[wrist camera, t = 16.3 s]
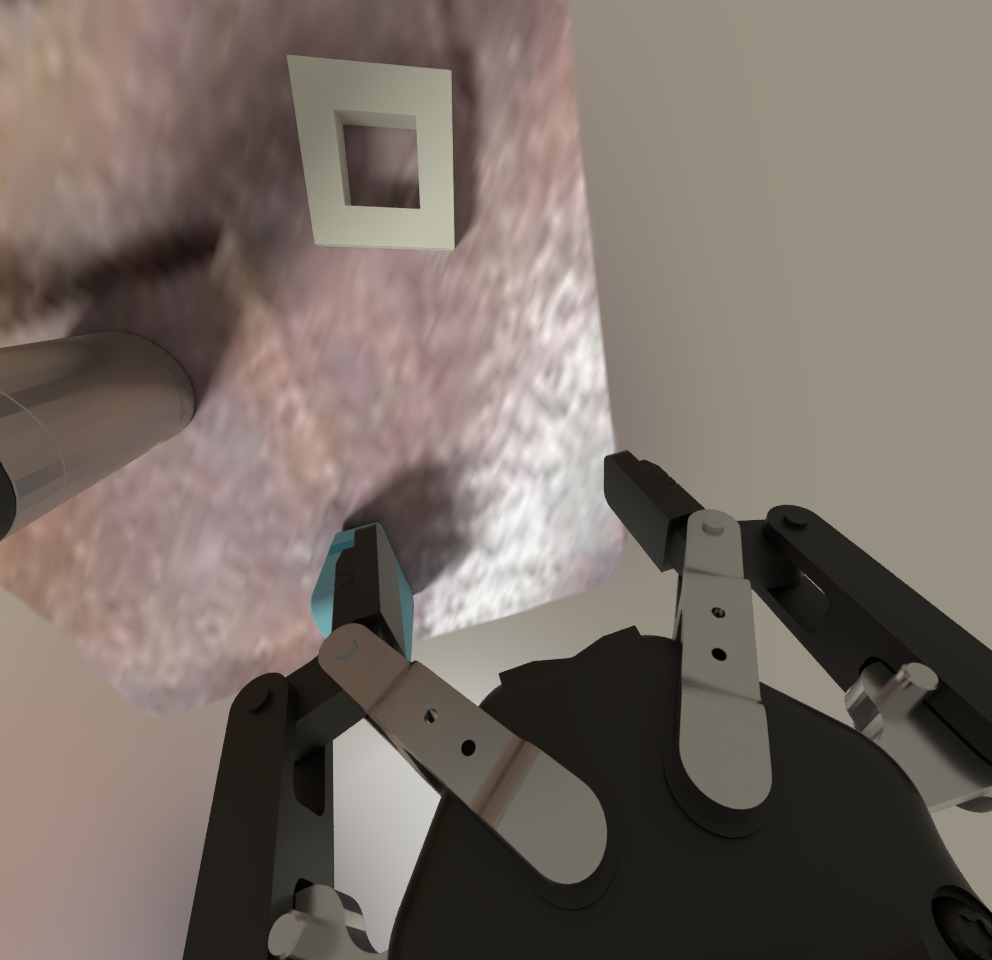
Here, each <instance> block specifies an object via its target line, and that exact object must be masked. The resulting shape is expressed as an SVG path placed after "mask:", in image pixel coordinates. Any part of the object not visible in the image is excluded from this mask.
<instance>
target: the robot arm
mask: <svg viewBox="0 0 992 960" xmlns="http://www.w3.org/2000/svg"><path fill="white" fill-rule="evenodd" d="M194 407H195V398H194V392H193V388H192V385H191V383H190V381H189V378H188V376H187V375H186V373H185V372H184V370H183V369H182V367H181V366H180V365H179V364H178V363H177V362H176V361H175V359H174V358H173V357H172V356H171V355H169V354H168V353H167V352H166V351H164V350H163V349H162V348H160V347H159V346H157V345H155V344H154V343H152V342H150V341H148V340H147V339H144V338H141V337H138V336H136V335H133V334H129V333H123V332H99V333H93V334H86V335H80V336H74V337H68V338H60V339H54V340H48V341H42V342H35V343H29V344H23V345H17V346H11V347H4V348H0V541H2V540H4V539H5V538H7V537H8V536H10V535H12V534H13V533H15V532H17V531H18V530H20V529H22V528H23V527H25V526H27V525H28V524H30V523H31V522H33V521H35V520H36V519H38V518H40V517H41V516H43V515H44V514H46V513H48V512H49V511H51V510H52V509H54V508H56V507H57V506H59V505H61V504H62V503H64V502H66V501H67V500H69V499H71V498H72V497H74V496H76V495H77V494H79V493H80V492H82V491H84V490H85V489H87V488H89V487H90V486H92V485H94V484H95V483H97V482H99V481H100V480H102V479H104V478H105V477H107V476H109V475H110V474H112V473H114V472H115V471H117V470H118V469H120V468H122V467H123V466H125V465H127V464H128V463H130V462H132V461H133V460H135V459H137V458H138V457H140V456H142V455H143V454H145V453H147V452H148V451H150V450H152V449H153V448H155V447H157V446H158V445H160V444H162V443H163V442H165V441H167V440H168V439H170V438H171V437H173V436H175V435H176V434H178V433H179V432H180V431H182V430H183V429H184V428H185V427H186V426H187V425H188V423H189V422H190V420H191V418H192V415H193V412H194ZM604 494H605V498H606V501H607V503H608V505H609V506H610V508H611V509H612V510H613V511H614V513H615V514H616V515H617V516H618V518H619V519H620V520H621V522H622V523H623V524H624V525H625V527H626V528H627V529H628V530H629V532H630V533H631V534H632V535H633V537H634V538H635V539H636V541H637V542H638V543H639V544H640V546H641V547H642V548H643V549H644V551H645V552H646V553H647V554H648V556H649V557H650V558H651V560H652V561H653V562H654V563H655V565H656V566H657V567H658V568H659V570H660V571H661V572H664V571H667V570H670V569H673V568H674V569H675V570H676V572H677V573H678V578H677V589H676V601H675V615H674V628H673V636H672V639H670V638H666V637H660V636H652V635H640V633H639V631H638V630H637V628H636V627H635V626H631V627H629V628H626V629H623V630H620V631H617V632H614V633H612V634H609V635H606V636H603V637H601V638H600V639H599V640H597V641H596V642H594V643H593V644H591V645H590V646H588V647H587V648H586V649H584V650H583V651H581V652H580V653H578V654H577V655H576V656H574V657H571V658H566V659H554V660H543V661H532V662H530V663H527V664H524V665H521V666H518V667H515V668H513V669H510V670H507V671H504V672H502V673H499V677H500V680H501V685H499V686H498V687H497V688H495V689H494V690H493V691H492V692H491V693H490V694H488V696H487V697H486V698H485V699H484V700H483V701H482V702H481V704H480V705H479V707H478V706H477V705H475V704H474V703H473V702H471V701H470V700H469V699H467V698H466V697H465V696H464V695H462V694H461V693H460V692H458V691H457V690H456V689H454V688H453V687H452V686H450V685H449V684H448V683H447V682H445V681H444V680H442V679H441V678H440V677H439V676H437V675H436V674H435V673H433V672H432V671H431V670H430V669H428V668H427V667H426V666H424V665H423V664H421V663H420V662H418V661H414V662H410V661H409V660H407V659H406V651H405V641H404V631H403V621H402V611H401V601H400V591H399V581H398V571H397V566H396V562H395V559H394V556H393V553H392V551H391V549H390V547H389V545H388V542H387V540H386V538H385V536H384V534H383V531H382V529H381V527H380V525H379V524H378V523H376V524H373V525H369V526H366V527H363V528H359V529H356V530H355V532H354V547H350V548H347V549H344V550H343V551H342V552H341V554H340V556H339V558H338V560H337V562H336V567H335V582H334V588H335V590H334V598H333V614H332V630H331V634H330V635H329V636H328V637H327V638H326V639H325V640H324V642H323V643H322V645H321V647H320V650H319V654H318V655H317V656H316V657H315V658H314V659H313V660H312V661H310V662H309V663H307V664H306V665H304V666H303V667H301V668H299V669H298V670H296V671H295V672H293V673H292V674H290V675H288V676H287V677H284V676H283V675H281V674H279V673H267V674H263V675H261V676H259V677H257V678H255V679H254V680H252V681H251V682H249V683H248V684H247V685H246V686H245V687H244V688H243V689H242V690H241V691H240V692H239V694H238V695H237V696H236V698H235V700H234V702H233V703H232V706H231V709H230V712H229V718H228V723H227V728H226V733H225V739H224V744H223V749H222V754H221V759H220V765H219V770H218V775H217V781H216V786H215V791H214V796H213V802H212V807H211V812H210V817H209V823H208V828H207V833H206V839H205V844H204V849H203V854H202V860H201V865H200V870H199V875H198V881H197V886H196V891H195V896H194V902H193V907H192V912H191V917H190V923H189V928H188V934H187V939H186V944H185V949H184V954H183V960H992V912H991V911H990V910H989V909H988V908H987V907H986V906H985V905H984V903H983V902H982V901H981V900H980V898H979V897H978V896H977V895H976V894H975V892H974V891H973V890H972V888H971V887H970V885H969V884H968V882H967V881H966V879H965V878H964V877H963V875H962V873H961V872H960V870H959V869H958V867H957V865H956V864H955V862H954V860H953V859H952V857H951V855H950V854H949V852H948V850H947V849H946V847H945V845H944V843H943V841H942V839H941V837H940V835H939V833H938V831H937V829H936V826H935V825H934V822H933V820H932V817H931V815H930V814H931V813H933V812H937V811H939V810H942V809H945V808H948V807H951V806H954V805H956V806H958V807H960V808H962V809H965V810H968V811H972V812H979V813H983V812H989V811H992V651H991V650H990V649H989V648H988V647H986V646H985V645H984V644H982V643H981V642H980V641H979V640H977V639H976V638H975V637H974V636H972V635H971V634H969V633H968V632H967V631H966V630H965V629H963V628H962V627H961V626H959V625H958V624H957V623H955V622H954V621H953V620H952V619H950V618H949V617H948V616H946V615H945V614H944V613H943V612H941V611H940V610H939V609H938V608H936V607H935V606H934V605H932V604H931V603H930V602H929V601H927V600H926V599H925V598H923V597H922V596H921V595H920V594H918V593H917V592H916V591H914V590H913V589H912V588H911V587H909V586H908V585H907V584H905V583H904V582H903V581H902V580H900V579H899V578H898V577H896V576H895V575H894V574H893V573H891V572H890V571H889V570H887V569H886V568H885V567H884V566H882V565H881V564H880V563H878V562H877V561H876V560H875V559H873V558H872V557H871V556H869V555H868V554H867V553H865V552H864V551H863V550H862V549H860V548H859V547H858V546H856V545H855V544H854V543H852V542H851V541H850V540H848V538H846V537H845V536H844V535H842V534H841V533H840V532H838V531H837V530H836V529H835V528H833V527H832V526H831V525H830V524H828V523H827V522H826V521H824V520H823V519H822V518H821V517H819V516H818V515H816V514H815V513H814V512H812V511H810V510H808V509H805V508H802V507H799V506H794V505H780V506H776V507H773V508H772V509H771V510H769V512H768V513H767V517H766V519H765V520H748V521H736V520H735V519H734V518H733V517H731V516H730V515H728V514H726V513H724V512H721V511H717V510H711V509H705V508H704V507H703V506H702V505H700V504H699V503H698V502H697V501H696V500H695V499H694V498H693V497H692V496H691V495H690V494H688V493H687V492H686V491H685V490H684V489H683V488H682V487H681V486H680V485H679V484H676V482H675V480H673V479H672V478H671V477H669V476H668V474H667V473H666V472H665V471H664V470H663V469H661V468H660V467H659V466H658V465H656V464H653V463H651V462H649V461H647V460H642V461H638V460H637V458H635V457H634V456H633V455H632V454H631V453H630V452H629V451H627V450H625V451H622V452H618V453H615V454H611V455H608V456H606V457H605V459H604ZM804 574H805V575H806V576H807V577H809V578H810V579H811V580H812V581H813V582H814V583H815V584H816V585H817V586H818V587H819V588H820V589H821V590H822V591H823V592H824V593H825V594H824V593H823V592H821V591H820V590H819V589H818V588H817V587H816V586H815V585H814V584H813V583H812V582H811V581H810V580H809V579H808V578H807V577H806V576H805V575H804ZM751 589H753V590H754V591H755V592H756V593H757V594H758V596H759V597H760V598H761V599H762V600H763V601H764V602H765V603H766V604H767V606H768V607H769V608H770V609H771V610H772V611H773V612H774V614H775V615H776V616H777V617H778V618H779V619H780V620H781V621H782V622H783V624H784V625H785V626H786V627H787V628H788V629H789V630H790V631H791V633H792V634H793V635H794V636H795V637H796V638H797V639H798V640H799V642H800V643H801V644H802V645H803V646H804V647H805V648H806V649H807V650H808V652H809V653H810V654H811V655H812V656H813V657H814V658H815V659H816V661H817V662H818V663H819V664H820V665H821V666H822V667H823V668H824V669H825V671H826V672H827V673H828V674H829V675H830V676H831V677H832V679H833V680H834V681H835V682H836V683H837V684H838V685H839V686H840V687H841V689H843V691H844V692H845V693H846V694H845V700H844V701H845V706H846V709H847V712H848V713H849V715H850V717H851V718H852V720H853V725H854V728H855V729H853V728H851V727H850V726H848V725H846V724H844V723H842V722H840V721H838V720H836V719H834V718H832V717H830V716H828V715H826V714H824V713H822V712H820V711H818V710H816V709H814V708H812V707H810V706H808V705H806V704H804V703H802V702H800V701H798V700H796V699H793V698H792V697H790V696H788V695H786V694H784V693H782V692H779V691H778V690H775V689H774V688H772V687H769V686H768V685H766V684H764V683H762V682H760V681H759V676H758V665H757V653H756V641H755V630H754V619H753V606H752V595H751ZM362 718H364V719H365V720H366V721H367V722H368V723H369V724H370V725H371V726H372V727H373V728H374V729H375V730H376V731H377V732H378V733H379V734H380V735H381V736H382V737H383V738H384V739H385V740H387V742H388V743H390V745H391V746H392V747H394V749H395V750H396V751H397V752H399V754H401V755H402V756H403V758H404V759H405V760H406V761H407V762H408V763H409V764H410V765H411V766H412V767H413V768H414V770H415V771H416V772H417V773H418V774H419V775H420V776H421V777H422V778H423V779H424V780H425V781H426V782H427V783H428V784H429V785H430V786H431V787H432V788H433V789H434V790H435V791H436V792H437V793H438V794H439V795H440V796H441V799H440V802H439V804H438V807H437V810H436V812H435V815H434V818H433V820H432V823H431V826H430V828H429V831H428V834H427V836H426V839H425V841H424V844H423V847H422V849H421V852H420V855H419V857H418V860H417V862H416V865H415V868H414V871H413V873H412V876H411V878H410V881H409V884H408V886H407V889H406V892H405V894H404V897H403V899H402V902H401V905H400V907H399V910H398V913H397V916H396V919H395V922H394V925H393V929H392V933H391V938H390V943H389V949H388V950H387V951H385V952H382V953H378V952H377V951H376V950H375V949H374V948H373V947H372V945H371V943H370V941H369V939H368V937H367V934H366V930H365V924H364V918H363V914H362V911H361V908H360V907H359V904H358V903H357V902H356V901H355V899H353V898H352V897H351V896H349V895H347V894H344V893H342V892H340V891H338V890H335V889H334V830H333V829H334V825H333V823H334V821H333V740H334V739H335V738H337V737H338V736H339V735H341V734H342V733H343V732H345V731H346V730H347V729H349V728H350V727H352V726H353V725H354V724H356V723H357V722H358V721H360V720H361V719H362Z"/></svg>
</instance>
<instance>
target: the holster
mask: <svg viewBox="0 0 992 960" xmlns="http://www.w3.org/2000/svg"><path fill="white" fill-rule="evenodd" d="M287 61H288V68H289V75H290V82H291V88H292V95H293V102H294V108H295V115H296V122H297V129H298V135H299V142H300V149H301V156H302V162H303V169H304V176H305V183H306V189H307V196H308V203H309V209H310V216H311V223H312V230H313V236H314V243H315V244H318V245H321V246H325V247H353V248H381V249H409V250H436V251H453V250H454V249H455V246H454V190H453V134H452V78H451V70H444V69H433V68H423V67H412V66H402V65H391V64H381V63H370V62H360V61H349V60H339V59H328V58H318V57H307V56H297V55H287ZM343 125H356V126H370V127H383V128H397V129H410V130H416V132H417V153H418V173H419V194H420V209H409V208H388V207H368V206H352V205H351V196H350V187H349V178H348V169H347V160H346V150H345V141H344V132H343Z"/></svg>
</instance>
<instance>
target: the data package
mask: <svg viewBox="0 0 992 960" xmlns="http://www.w3.org/2000/svg"><path fill="white" fill-rule="evenodd" d="M376 523H378V522H375V523H371V524H368V525H364V526H360V527H357V528H353V529H350V530H346V531H343V532H339V533H337V534H336V535H335V536H334V539H333V542H332V544H331V547H330V549H329V552H328V555H327V557H326V560H325V563H324V565H323V568H322V571H321V573H320V576H319V578H318V581H317V584H316V586H315V589H314V592H313V594H312V597H311V612H312V616H313V619H314V621H315V623H316V624H317V626H318V628H319V629H320V631H321V632H322V634H323V636H324V637H325V639H326V638H327V637H328V636H329V635H330V634H331V630H332V614H333V598H334V590H335V588H334V582H335V567H336V562H337V560H338V558H339V556H340V554H341V552H342V551H343V550H344V549H347V548H350V547H354V532H355V530H356V529H359V528H363V527H366V526H369V525H373V524H376ZM378 524H379V525H380V527H381V529H382V531H383V534H384V536H385V538H386V540H387V542H388V545H389V547H390V549H391V551H392V553H393V556H394V559H395V562H396V566H397V571H398V581H399V591H400V601H401V611H402V621H403V631H404V641H405V651H406V659H407V660H409V661H410V662H411V649H412V631H413V614H414V601H413V596H412V592H411V589H410V587H409V585H408V583H407V580H406V578H405V576H404V574H403V571H402V569H401V567H400V565H399V563H398V560H397V558H396V556H395V554H394V551H393V549H392V547H391V545H390V543H389V540H388V538H387V536H386V534H385V531H384V529H383V527H382V526H381V524H380V523H378Z"/></svg>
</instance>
